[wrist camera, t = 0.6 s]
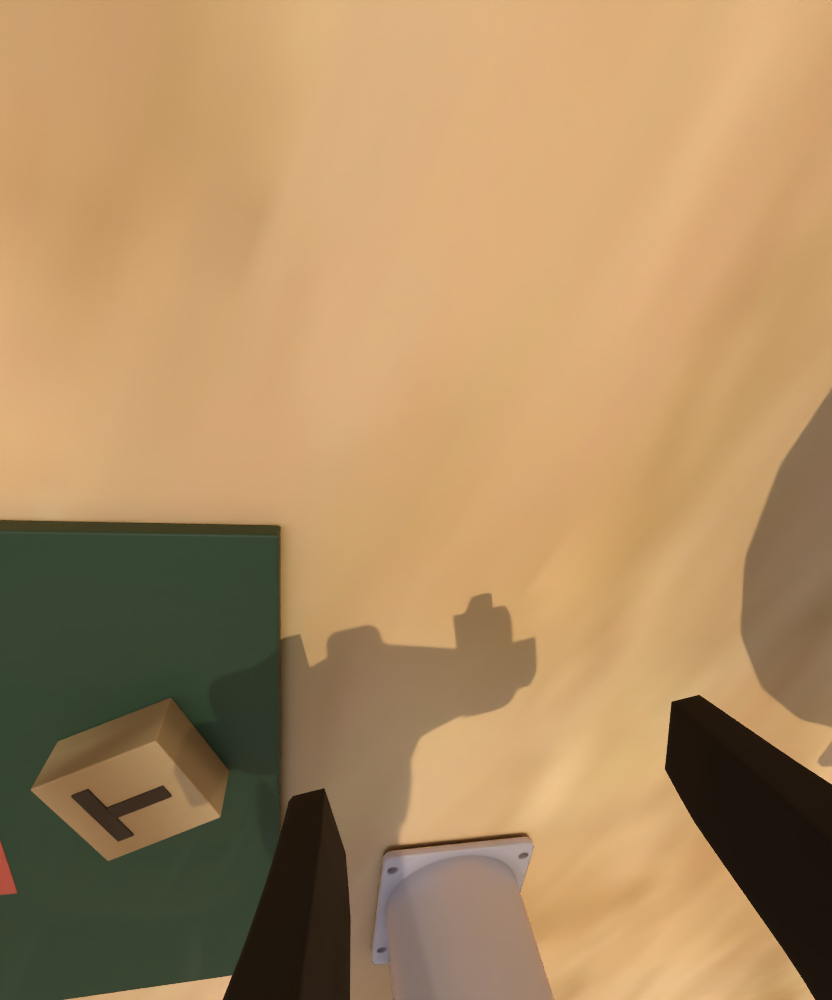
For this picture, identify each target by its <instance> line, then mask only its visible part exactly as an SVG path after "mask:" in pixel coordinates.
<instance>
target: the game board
mask: <svg viewBox="0 0 832 1000" xmlns="http://www.w3.org/2000/svg"><path fill="white" fill-rule="evenodd" d="M168 698H172V699H173V700H174V701H175V702H176V704H177V705H178V706H179V708H180V709H181V710H182V711H183V713H184V714H185V715H186V716H187V718H188V719H189V720H190V722H191V723H192V724H193V725H194V727H195V728H196V729H197V730H198V732H199V733H200V734H201V736H202V737H203V738H204V739H205V741H206V742H207V743H208V744H209V746H210V747H211V748H212V750H213V751H214V752H215V753H216V755H217V756H218V757H219V758H220V760H221V761H222V762H223V764H224V765H225V766H226V767H227V769H228V770H229V775H228V780H227V785H226V791H225V796H224V801H223V807H222V812H221V817H220V818H217V819H215V820H212V821H210V822H207V823H205V824H202V825H199V826H197V827H194V828H192V829H189V830H187V831H184V832H182V833H179V834H176V835H174V836H171V837H169V838H166V839H164V840H161V841H159V842H156V843H154V844H151V845H148V846H146V847H143V848H141V849H138V850H136V851H133V852H131V853H128V854H125V855H123V856H120V857H118V858H115V859H113V860H110V861H107V860H106V859H105V858H104V857H103V856H102V855H101V854H100V853H99V852H98V851H96V850H95V849H94V848H93V847H92V846H91V845H90V844H89V843H88V842H87V841H85V840H84V839H83V838H82V837H81V836H80V835H79V834H78V833H77V832H76V831H75V830H73V829H72V828H71V827H70V826H69V825H68V824H67V823H66V822H65V821H64V820H62V819H61V818H60V817H59V816H58V815H57V814H56V813H55V812H54V811H53V810H52V809H50V808H49V807H48V806H47V805H46V804H45V803H44V802H43V801H42V800H41V799H40V798H38V797H37V796H36V795H35V794H34V793H33V792H32V791H31V788H32V786H33V784H34V783H35V781H36V779H37V777H38V775H39V774H40V772H41V770H42V768H43V767H44V765H45V763H46V761H47V760H48V758H49V756H50V754H51V753H52V751H53V749H54V747H55V745H56V744H57V742H58V741H60V740H62V739H65V738H68V737H70V736H73V735H75V734H78V733H80V732H83V731H86V730H88V729H91V728H93V727H96V726H98V725H101V724H104V723H106V722H109V721H111V720H114V719H116V718H119V717H122V716H124V715H127V714H129V713H132V712H134V711H137V710H140V709H142V708H145V707H147V706H150V705H152V704H155V703H158V702H160V701H163V700H165V699H168ZM279 837H280V526H267V525H214V524H161V523H107V522H54V521H1V520H0V840H1V843H2V846H3V849H4V852H5V855H6V859H7V862H8V865H9V868H10V871H11V874H12V877H13V880H14V883H15V886H16V889H17V892H18V893H14V894H5V895H0V1000H64V999H71V998H78V997H85V996H92V995H99V994H106V993H113V992H119V991H126V990H133V989H140V988H147V987H154V986H161V985H168V984H175V983H182V982H189V981H196V980H203V979H210V978H216V977H223V976H230V975H233V972H234V970H235V967H236V965H237V962H238V960H239V957H240V954H241V952H242V949H243V946H244V944H245V941H246V938H247V935H248V933H249V930H250V927H251V924H252V921H253V918H254V915H255V912H256V909H257V906H258V904H259V901H260V898H261V895H262V892H263V889H264V886H265V883H266V880H267V877H268V873H269V870H270V867H271V864H272V861H273V857H274V854H275V851H276V847H277V844H278V840H279Z"/></svg>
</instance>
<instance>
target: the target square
mask: <svg viewBox="0 0 832 1000" xmlns="http://www.w3.org/2000/svg"><path fill="white" fill-rule="evenodd" d="M14 893H18V892H17V889H16V886H15V883H14V880H13V877H12V874H11V871H10V868H9V865H8V862H7V859H6V855H5V852H4V849H3V846H2V843H1V840H0V895H5V894H14Z"/></svg>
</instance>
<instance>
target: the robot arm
mask: <svg viewBox="0 0 832 1000" xmlns="http://www.w3.org/2000/svg"><path fill="white" fill-rule="evenodd" d="M665 770H666V772H667V774H668V776H669V777H670V779H671V781H672V783H673V785H674V787H675V789H676V790H677V792H678V794H679V796H680V798H681V799H682V801H683V803H684V805H685V806H686V808H687V810H688V812H689V813H690V815H691V817H692V819H693V820H694V822H695V824H696V825H697V826H698V828H699V829H700V831H701V832H702V834H703V835H704V837H705V838H706V840H707V841H708V843H709V844H710V845H711V847H712V848H713V850H714V851H715V853H716V854H717V856H718V857H719V858H720V860H721V861H722V863H723V864H724V866H725V867H726V868H727V870H728V871H729V873H730V874H731V876H732V877H733V878H734V880H735V881H736V883H737V884H738V886H739V887H740V888H741V890H742V891H743V893H744V894H745V895H746V897H747V898H748V900H749V901H750V903H751V904H752V905H753V907H754V908H755V910H756V911H757V913H758V914H759V915H760V917H761V918H762V920H763V921H764V923H765V924H766V925H767V927H768V928H769V930H770V931H771V932H772V934H773V935H774V937H775V938H776V940H777V941H778V942H779V944H780V945H781V947H782V948H783V950H784V951H785V953H786V954H787V956H788V957H789V959H790V960H791V962H792V963H793V965H794V966H795V968H796V969H797V971H798V972H799V974H800V975H801V977H802V978H803V980H804V982H805V983H806V985H807V987H808V988H809V990H810V992H811V993H812V995H813V997H814V998H815V1000H832V784H830V783H828V782H827V781H825V780H824V779H822V778H821V777H819V776H818V775H816V774H815V773H813V772H812V771H810V770H809V769H807V768H806V767H804V766H802V765H801V764H799V763H798V762H796V761H795V760H793V759H792V758H790V757H789V756H787V755H786V754H784V753H783V752H781V751H780V750H779V749H777V748H776V747H774V746H773V745H771V744H770V743H768V742H767V741H765V740H764V739H762V738H761V737H760V736H758V735H757V734H755V733H754V732H752V731H751V730H749V729H748V728H746V727H745V726H744V725H742V724H741V723H739V722H738V721H736V720H735V719H733V718H732V717H730V716H729V715H728V714H726V713H725V712H723V711H722V710H720V709H719V708H717V707H716V706H715V705H713V704H712V703H710V702H709V701H707V700H706V699H704V698H703V697H701V696H700V695H697V696H693V697H689V698H685V699H681V700H677V701H673V702H672V704H671V714H670V724H669V734H668V744H667V754H666V764H665ZM533 848H534V845H533V843H532V840H531V838H529V837H516V838H506V839H497V840H487V841H478V842H468V843H459V844H449V845H440V846H430V847H421V848H411V849H402V850H393V851H389V852H387V853H386V854H385V855H384V856H383V860H382V868H381V876H380V884H379V893H378V901H377V909H376V917H375V925H374V933H373V942H372V950H371V961H372V963H373V964H375V965H381V964H388V963H390V972H391V983H392V993H393V1000H554V997H553V994H552V991H551V988H550V985H549V982H548V978H547V975H546V972H545V969H544V966H543V963H542V960H541V957H540V953H539V950H538V947H537V944H536V941H535V938H534V935H533V931H532V928H531V925H530V922H529V919H528V916H527V913H526V910H525V906H524V903H523V900H522V897H521V894H520V892H521V888H522V885H523V882H524V878H525V875H526V872H527V868H528V865H529V862H530V858H531V855H532V852H533ZM223 1000H350V903H349V890H348V877H347V865H346V853H345V850H344V847H343V844H342V841H341V838H340V835H339V831H338V828H337V825H336V822H335V819H334V816H333V813H332V810H331V807H330V804H329V801H328V798H327V795H326V792H325V788H324V789H320V790H316V791H312V792H308V793H304V794H300V795H296V796H293V797H292V798H291V799H290V800H289V802H288V806H287V810H286V814H285V818H284V822H283V826H282V830H281V833H280V837H279V840H278V844H277V847H276V851H275V854H274V857H273V861H272V864H271V867H270V870H269V873H268V877H267V880H266V883H265V886H264V889H263V892H262V895H261V898H260V901H259V904H258V906H257V909H256V912H255V915H254V918H253V921H252V924H251V927H250V930H249V933H248V935H247V938H246V941H245V944H244V946H243V949H242V952H241V954H240V957H239V960H238V962H237V965H236V967H235V970H234V972H233V975H232V977H231V980H230V983H229V985H228V988H227V990H226V993H225V995H224V998H223Z"/></svg>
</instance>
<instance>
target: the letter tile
mask: <svg viewBox="0 0 832 1000" xmlns="http://www.w3.org/2000/svg"><path fill="white" fill-rule="evenodd" d="M228 775H229V770H228V769H227V767H226V766H225V765H224V764H223V762H222V761H221V760H220V758H219V757H218V756H217V755H216V753H215V752H214V751H213V750H212V748H211V747H210V746H209V744H208V743H207V742H206V741H205V739H204V738H203V737H202V736H201V734H200V733H199V732H198V730H197V729H196V728H195V727H194V725H193V724H192V723H191V722H190V720H189V719H188V718H187V716H186V715H185V714H184V713H183V711H182V710H181V709H180V708H179V706H178V705H177V704H176V702H175V701H174V700H173V699H172V698H168V699H165V700H163V701H160V702H158V703H155V704H152V705H150V706H147V707H145V708H142V709H140V710H137V711H134V712H132V713H129V714H127V715H124V716H122V717H119V718H116V719H114V720H111V721H109V722H106V723H104V724H101V725H98V726H96V727H93V728H91V729H88V730H86V731H83V732H80V733H78V734H75V735H73V736H70V737H68V738H65V739H62V740H60V741H58V742H57V744H56V745H55V747H54V749H53V751H52V753H51V754H50V756H49V758H48V760H47V761H46V763H45V765H44V767H43V768H42V770H41V772H40V774H39V775H38V777H37V779H36V781H35V783H34V784H33V786H32V788H31V791H32V792H33V793H34V794H35V795H36V796H37V797H38V798H40V799H41V800H42V801H43V802H44V803H45V804H46V805H47V806H48V807H49V808H50V809H52V810H53V811H54V812H55V813H56V814H57V815H58V816H59V817H60V818H61V819H62V820H64V821H65V822H66V823H67V824H68V825H69V826H70V827H71V828H72V829H73V830H75V831H76V832H77V833H78V834H79V835H80V836H81V837H82V838H83V839H84V840H85V841H87V842H88V843H89V844H90V845H91V846H92V847H93V848H94V849H95V850H96V851H98V852H99V853H100V854H101V855H102V856H103V857H104V858H105V859H106V860H107V861H110V860H113V859H115V858H118V857H120V856H123V855H125V854H128V853H131V852H133V851H136V850H138V849H141V848H143V847H146V846H148V845H151V844H154V843H156V842H159V841H161V840H164V839H166V838H169V837H171V836H174V835H176V834H179V833H182V832H184V831H187V830H189V829H192V828H194V827H197V826H199V825H202V824H205V823H207V822H210V821H212V820H215V819H217V818H220V817H221V812H222V807H223V801H224V796H225V791H226V785H227V780H228Z"/></svg>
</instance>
